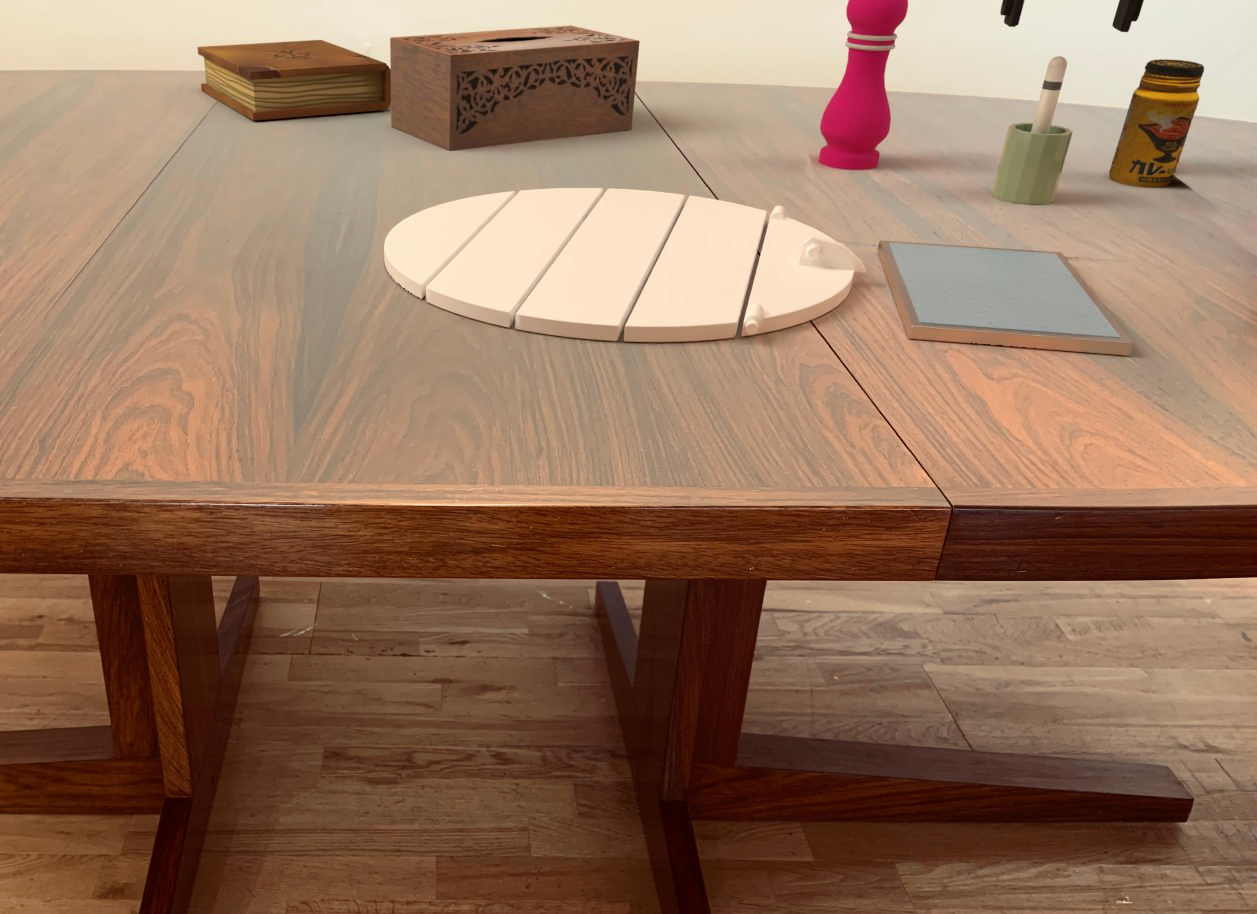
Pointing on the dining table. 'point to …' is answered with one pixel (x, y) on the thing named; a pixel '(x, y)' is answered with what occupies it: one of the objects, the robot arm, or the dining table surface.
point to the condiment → (1157, 124)
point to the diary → (295, 79)
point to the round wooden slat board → (618, 264)
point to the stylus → (1049, 95)
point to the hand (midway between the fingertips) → (1064, 27)
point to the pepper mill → (862, 87)
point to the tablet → (998, 298)
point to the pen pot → (1031, 164)
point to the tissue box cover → (512, 85)
